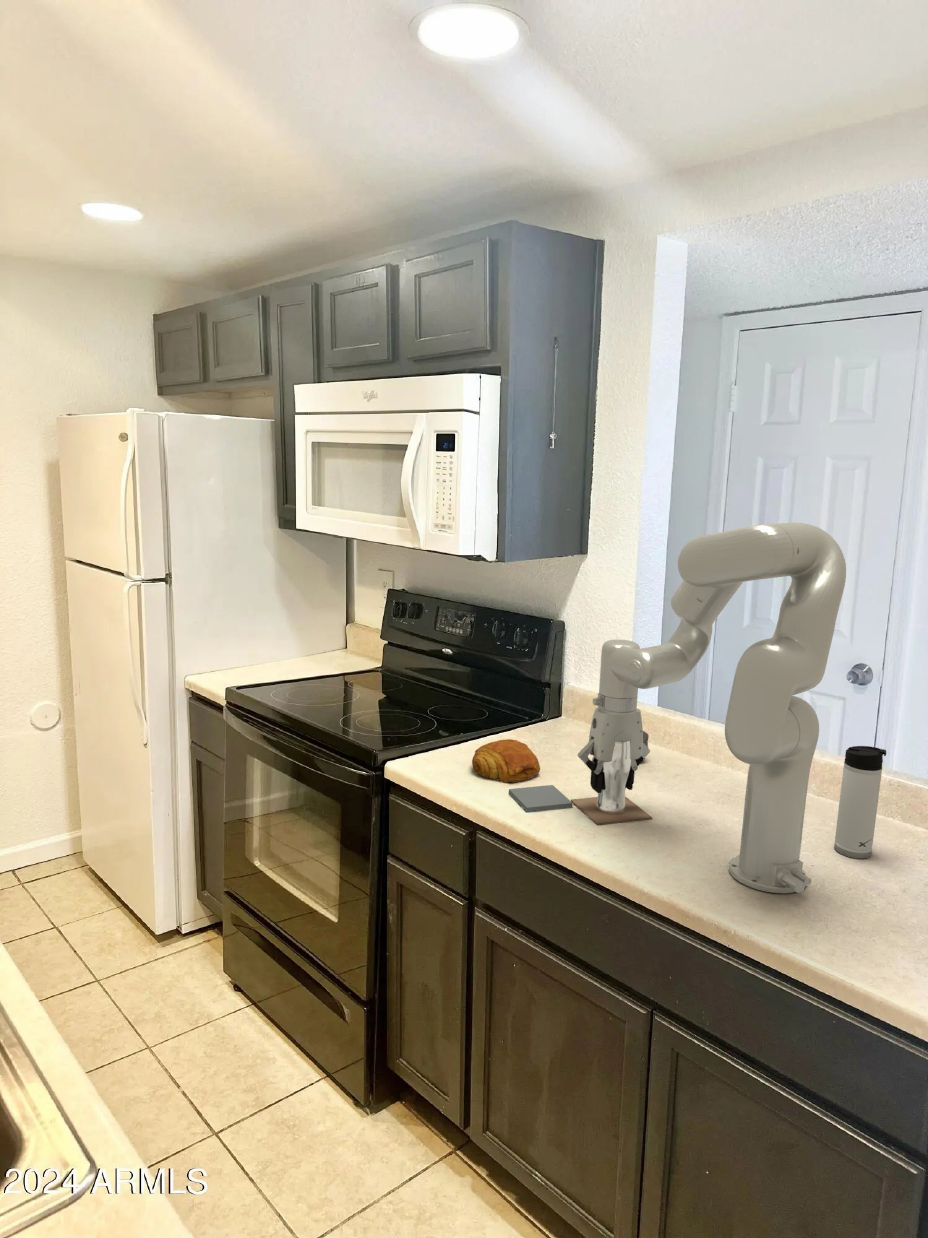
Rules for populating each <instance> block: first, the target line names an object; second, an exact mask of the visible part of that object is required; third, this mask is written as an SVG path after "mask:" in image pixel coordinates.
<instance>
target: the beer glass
mask: <svg viewBox="0 0 928 1238" xmlns="http://www.w3.org/2000/svg"><path fill="white" fill-rule="evenodd" d="M597 762H598V760H597ZM631 763H632V760H631V759H630V741H624V742H615V747H614V751H613V756H612V761H610V762H603V767H602V769H601V772H600V773H601V774H602V775H603V778H602V792H601V793H597V796H596V797H597V801H596V805H595V806H596V808H597V809H598V810H599V811H601V812H604V813H609V814H619V813H623V812H625V810H626V802H625V797H626V789H627V788H626V785H627V781H628V777H629V773H630V769H631Z"/></svg>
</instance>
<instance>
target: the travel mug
mask: <svg viewBox="0 0 928 1238" xmlns="http://www.w3.org/2000/svg"><path fill="white" fill-rule="evenodd" d="M886 756H887V750H886V749H883V748H879V747H875V746H871V745H870V746H867V745H854V746H850V747H848V748H847V749H846V750H845V756H844V757H845V758H844V761H843V768H842V778H841V785H840V794H839V803H838V812H837V819H836V826H835V828H836V829H835V836H834V844H833V845H834V846H833V848H834V850H835V851H836V852H838V854H841V855H843V856H845V857H847V858H853V859H858V860H859V859H860V860H861V859H863V860H864V859H867V858H870V857H871V856H872V850H873V844H874V836H875V829H876V821H877V815H878V814H877V813H878V806H879V796H880V789H881V782H882V774H883V773H882V771H883V764H884V763H883V762H884V759H883V758H884V757H886Z"/></svg>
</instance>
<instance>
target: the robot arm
mask: <svg viewBox="0 0 928 1238" xmlns="http://www.w3.org/2000/svg"><path fill="white" fill-rule="evenodd" d="M845 558H846V557H845V555H844V553H843V551H842V549H841V547H840V545H839V544H838V542H837V540H835V539H834V537H832V536H831V535H830V534H829V533H828V532H827V531H825V530H823V529H822V528H820V527H818V526H815V525H813V524H810V523H804V522H783V523H782V522H781V523H763V524H762V523H761V524H755V525H754V524H753V525H749V526H745V527H741V528H740V527H739V528H736V529H731V530H726V531H725V530H724V531H722V532H717V533H712V534H710V533H709V534H706V535H700V536H697V537H694V538H692V539H690V540H688V542H687V543H685V544H684V546H683V547H682V549H681V550H680V552H679V555H678V557H677V570H678V573H679V576H680V577H681V579H682V580H683V581H682V582H681V584H680V585H679V586H678V588H677V589H676V590H675V591H674V594H673V595H672V596H671V599H670V605H671V609H672V611H673V612H674V613H675V615H676V616H677V617H678V618H679V619H680V622H679V624H678V626H677V627H676V629H675V631H674V632H673V633H672V635H671V637H670V638H669V639H668V640H667V642H666V643H665V644H659V645H653V646H650V647H649V646H648V647H641V646H640V645H639V644H638V643H637V642H635V641H633V640H628V639H610V640H607V641H605V642H604V643H603V644H602V647H601V652H600V653H601V655H600V669H599V671H600V672H599V674H600V675H599V686H598V688H599V689H598V693H597V697H596V698H595V697H594V698H593V699H592V704H593V706H597V707H594V708H595V709H594V712H593V716H592V719H591V724H590V729H589V736H588V742H587V743H586V744H585V745H584V747H583V748H582V749H581V750H580V751H579V752H578V753H577V757H578V758H579V759H580V760H581V761H582V763H584V765H585V766H586V767H587V768H588V769H589V770H590V787H591V789H592V790H593V791H594V792H596V793H597V794H598V793H601V792H602V778H603V775H602V774H601V773H600V772H601V769H602V767H603V762H610V761H612V756H613V751H614V747H615V742H624V741H630V759H631V760H632V763H631V769H630V773H629V777H628V781H627V785H626V789H627V790H629V791H632V790H633V787H634V783H635V774H636V773H635V772H636V771H638V767H639V766H640V765H641V763H643V761H644V760H645V759H646V757H647V756H648V755H649V754H650V752H651V749H650V748H649V746H648V747H647V746H646V745H645V744H644V743H643V731H644V730H643V720H642V712H641V710H640V709H639V708H638V698H639V697H638V693H639V689H640V690H648V689H653V688H657V687H660V686H661V687H662V686H663V685H668V684H672V683H673V684H675V683H678V682H680V681H681V680H683V679H685V678H686V677H687V676H688V675H690V673H691V672H692V671H693V670H694V668H695V667H696V666H697V665H698V663H699V662H700V661H701V659H702V658H703V657H704V655H705V654H706V653H707V650H708V649H709V646H710V643H711V639H712V635H713V625H714V623H715V621H716V619H717V618H718V617H719V615H720V614H721V613H722V611H723V610H724V608H726V606H727V604H728V603H729V602H730V600H732V598H733V596H734V595H735V593H737V591H738V589H739V588H740V587H741V586H742V584H743V582H749V581H757V580H767V579H776V578H783V577H785V578H786V577H790V578H791V582H790V586H789V588H788V590H787V592H786V593H785V595H784V597H783V599H782V601H781V605H780V608H779V614H778V619H777V623H776V626H775V630H774V633H773V635H772V637H770V638H767V639H762V640H759V641H757V642H754V643H753V644H751V645H750V646H749V647H747V648H746V649H745V651H743V653H742V655H741V656H740V658H739V660H738V662H737V665H736V669H735V672H734V677H733V681H732V687H731V692H730V696H729V702H728V705H727V710H726V711H727V712H726V716H725V721H724V739H725V741H726V744H727V748H728V750H729V751H730V753H731V754H732V755H733V756H734V757H735V758H736V759H737V760H739V761H740V762H742V763H745V764H748V765H749V766H748V771H747V777H746V779H747V780H746V786H745V796H744V807H743V817H742V825H741V827H742V828H741V837H740V848H739V854H738V855H736V856H734V857H732V858H731V859H730V861H729V864H728V870H729V874H730V875H731V876H732V877H733V878H734V879H735V880H736V881H738V882H739V883H741V884H742V885H745V886H746V887H749V888H751V889H755V890H758V891H762V892H766V893H771V894H792V893H798V894H800V893H802V892H804V890H805V887H808V886H809V885H811V882H812V880H811V878H810V877H809V876H808V875H807V872H805V870H804V869H803V865H804V862H803V861H802V860H800V857H801V847H802V840H803V829H804V821H805V813H806V811H805V810H806V802H807V796H808V786H809V779H810V774H811V773H810V772H811V767H812V763H813V759H814V755H815V751H816V749H817V746H818V745H817V744H818V740H819V737H820V735H819V734H820V721H819V718H818V714H817V713H816V710H814V708H813V706H812V705H811V704H810V703H808V702H807V701H806V699H803V698H801V697H798V696H795V695H799V694H802V693H804V692H808V691H809V690H812V689H814V688H816V687H817V686H818V685H819V684H820V683H821V681H822V680H823V678H824V675H825V672H826V667H827V664H828V659H829V655H830V650H831V646H832V642H833V637H834V633H835V627H836V624H837V623H836V622H837V617H838V613H839V610H840V609H839V608H840V605H841V602H842V598H843V595H844V590H845V587H846V586H845V585H846V579H847V564H846V559H845ZM589 755H590V756H592V759H590V758H589ZM644 758H645V759H644ZM643 759H644V760H643ZM597 760H598V762H597Z"/></svg>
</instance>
